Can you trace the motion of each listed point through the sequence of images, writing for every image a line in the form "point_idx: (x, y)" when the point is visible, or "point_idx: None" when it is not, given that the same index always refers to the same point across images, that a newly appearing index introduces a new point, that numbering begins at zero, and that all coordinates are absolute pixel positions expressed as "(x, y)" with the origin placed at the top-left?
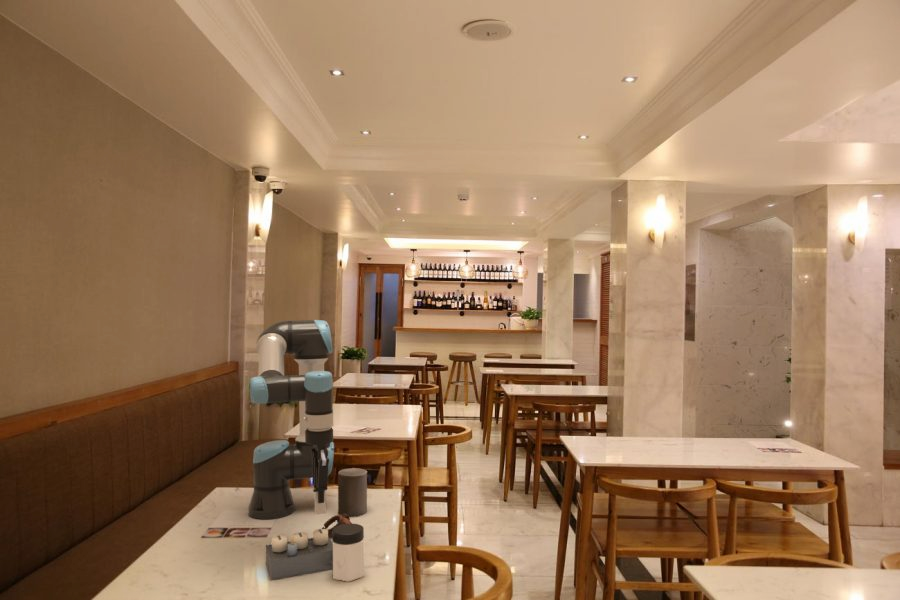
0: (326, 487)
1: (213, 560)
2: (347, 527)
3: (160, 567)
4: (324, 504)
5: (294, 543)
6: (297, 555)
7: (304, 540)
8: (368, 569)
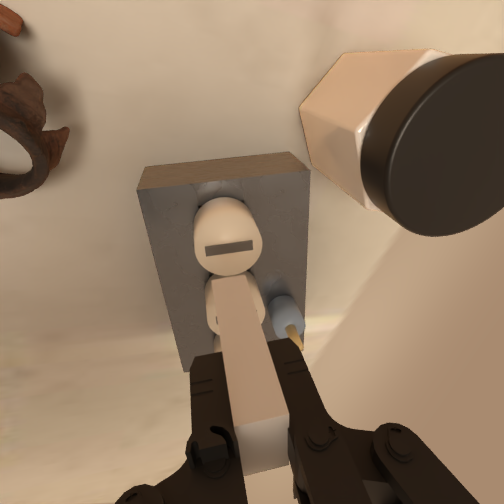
0: (434, 458)
1: (132, 421)
2: (451, 158)
3: (147, 477)
4: (257, 318)
5: (284, 323)
6: (298, 294)
7: (259, 294)
8: (350, 30)
